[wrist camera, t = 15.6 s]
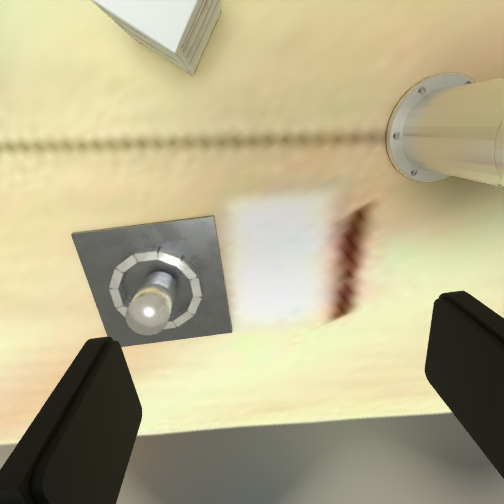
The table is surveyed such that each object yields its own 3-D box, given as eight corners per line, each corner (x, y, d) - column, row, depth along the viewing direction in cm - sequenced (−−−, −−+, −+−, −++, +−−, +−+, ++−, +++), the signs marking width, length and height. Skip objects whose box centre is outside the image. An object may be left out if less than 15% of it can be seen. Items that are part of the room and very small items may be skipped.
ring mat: (213, 215, 42) (212, 219, 40) (232, 330, 49) (232, 338, 47) (73, 232, 41) (65, 238, 39) (113, 345, 49) (108, 354, 47)
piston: (174, 270, 44) (164, 297, 36) (179, 300, 45) (170, 333, 38) (138, 273, 43) (121, 301, 36) (145, 304, 45) (129, 337, 38)
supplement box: (132, 39, 33) (79, -7, 22) (160, -35, 31) (118, -130, 20) (193, 78, 35) (174, 56, 24) (224, 12, 33) (220, -50, 21)
